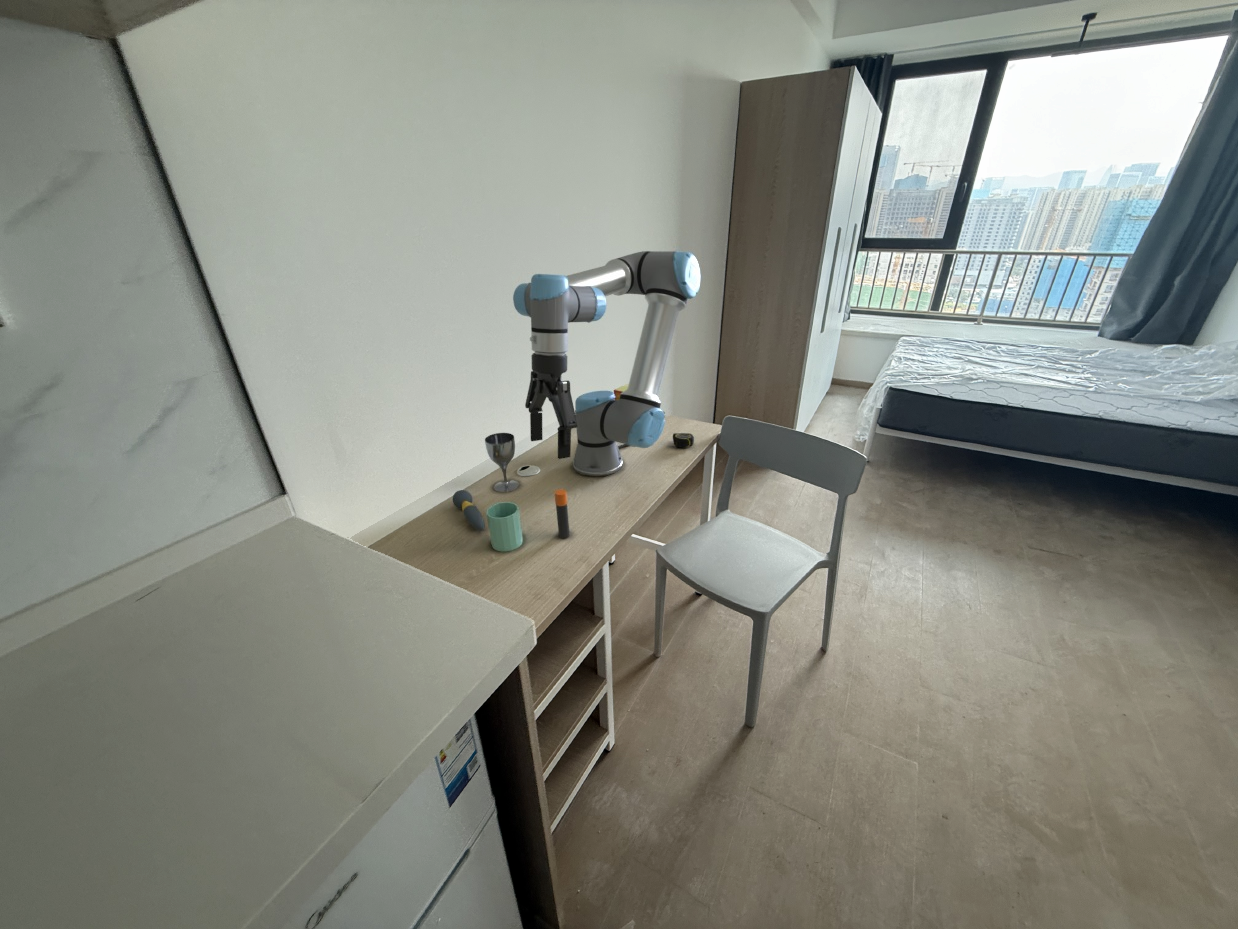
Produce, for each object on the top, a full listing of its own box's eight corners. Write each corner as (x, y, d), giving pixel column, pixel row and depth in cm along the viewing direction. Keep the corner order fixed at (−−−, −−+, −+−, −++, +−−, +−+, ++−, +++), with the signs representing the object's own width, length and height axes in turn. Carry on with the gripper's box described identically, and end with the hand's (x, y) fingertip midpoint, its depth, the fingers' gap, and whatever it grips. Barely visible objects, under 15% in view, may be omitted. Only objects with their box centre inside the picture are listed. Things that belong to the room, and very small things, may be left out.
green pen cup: (514, 530, 119) (510, 498, 115) (528, 543, 114) (524, 511, 110) (486, 541, 115) (481, 508, 111) (499, 555, 110) (494, 522, 106)
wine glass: (525, 482, 141) (519, 435, 135) (509, 495, 135) (502, 445, 128) (503, 477, 144) (496, 431, 138) (486, 489, 138) (478, 441, 131)
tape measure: (692, 441, 165) (693, 431, 163) (694, 450, 159) (694, 439, 157) (672, 441, 165) (672, 431, 164) (673, 449, 159) (673, 439, 158)
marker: (566, 531, 118) (562, 487, 113) (572, 535, 116) (568, 492, 111) (556, 535, 117) (552, 491, 111) (562, 540, 115) (558, 496, 109)
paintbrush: (497, 528, 120) (494, 511, 118) (478, 535, 117) (474, 518, 115) (466, 497, 134) (463, 481, 132) (448, 503, 131) (445, 487, 129)
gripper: (509, 345, 109) (512, 435, 117) (561, 362, 90) (561, 468, 98) (539, 345, 113) (540, 432, 121) (596, 360, 94) (592, 462, 102)
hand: (549, 448), depth 109 cm, fingers open, 13 cm apart
